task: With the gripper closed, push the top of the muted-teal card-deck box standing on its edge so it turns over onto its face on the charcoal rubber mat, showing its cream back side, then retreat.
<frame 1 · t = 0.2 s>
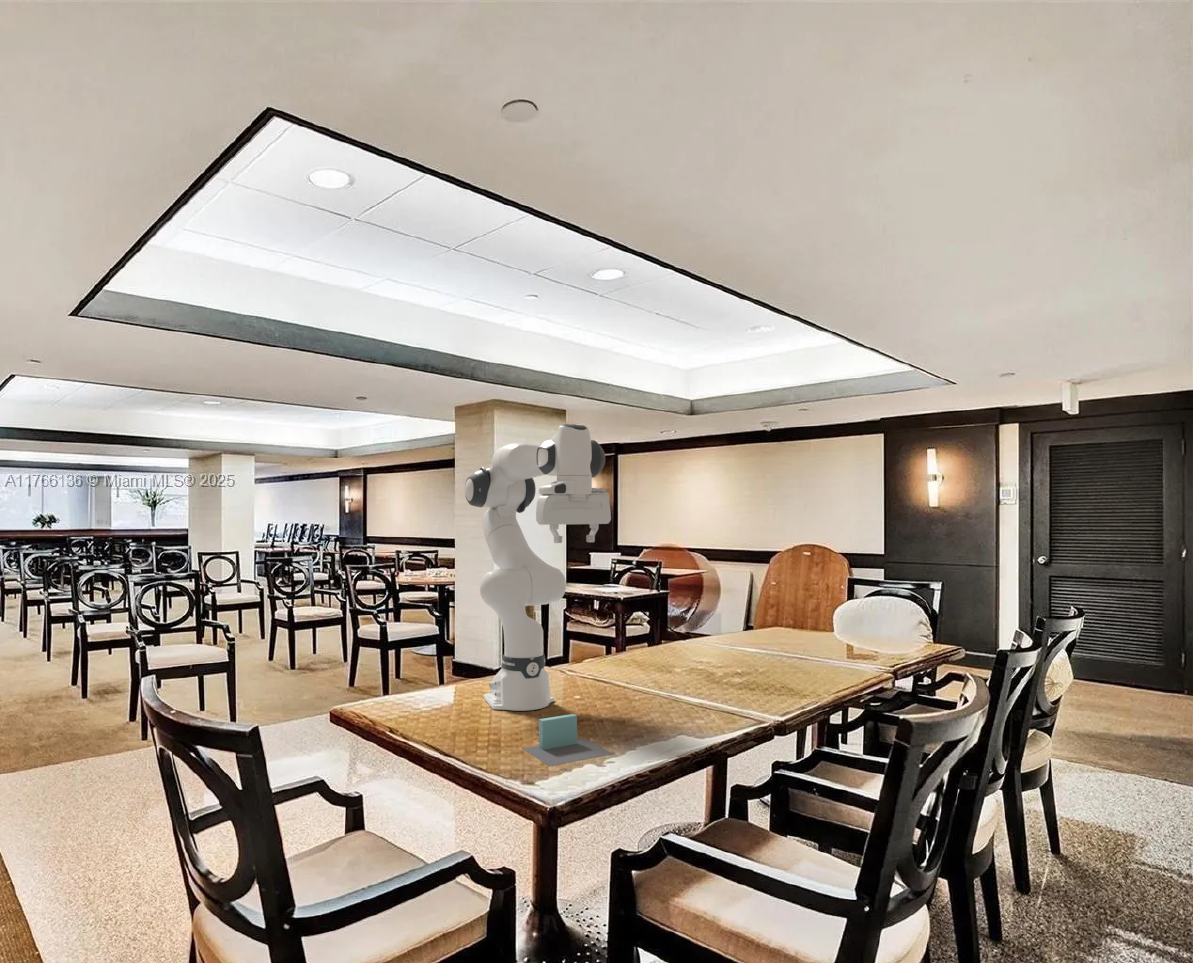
hand: (574, 542, 191), 47 cm above the table, fingers open, 8 cm apart
mat: (567, 753, 172), on the table
deck box: (558, 745, 176), point 1 cm above the table, touching mat
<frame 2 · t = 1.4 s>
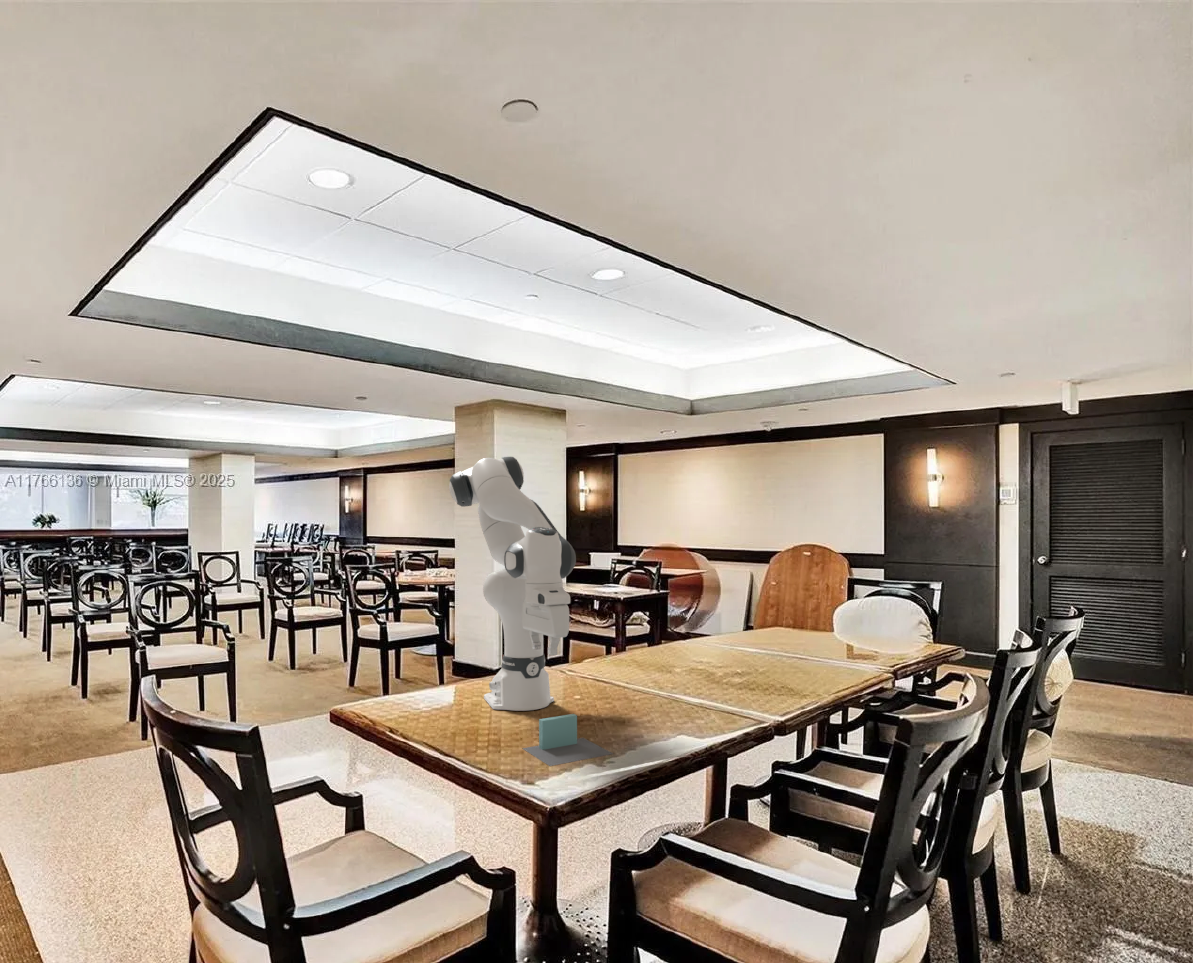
hand: (544, 652, 183), 21 cm above the table, fingers open, 8 cm apart
nothing on the table moved.
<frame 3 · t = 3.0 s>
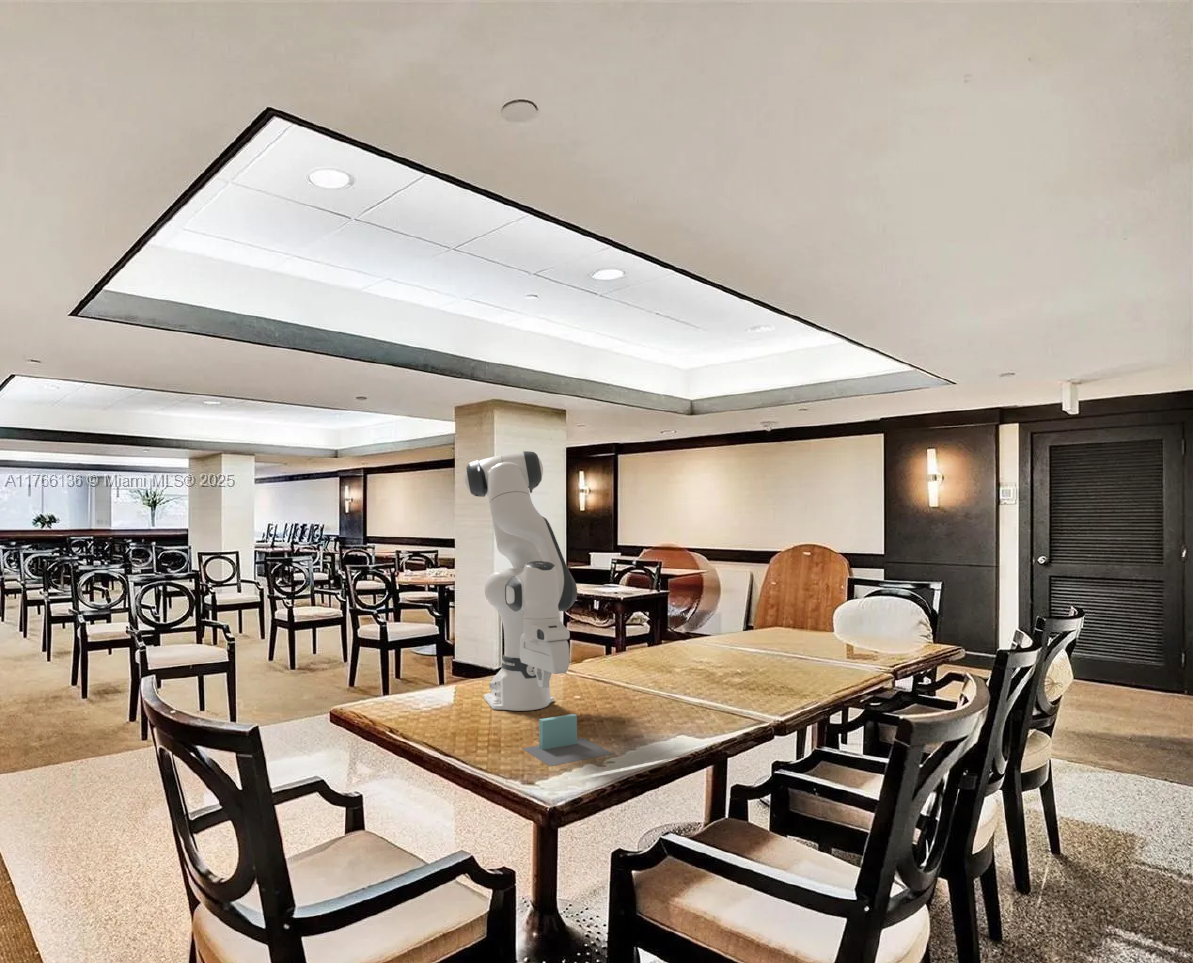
hand: (543, 687, 183), 13 cm above the table, fingers closed
nothing on the table moved.
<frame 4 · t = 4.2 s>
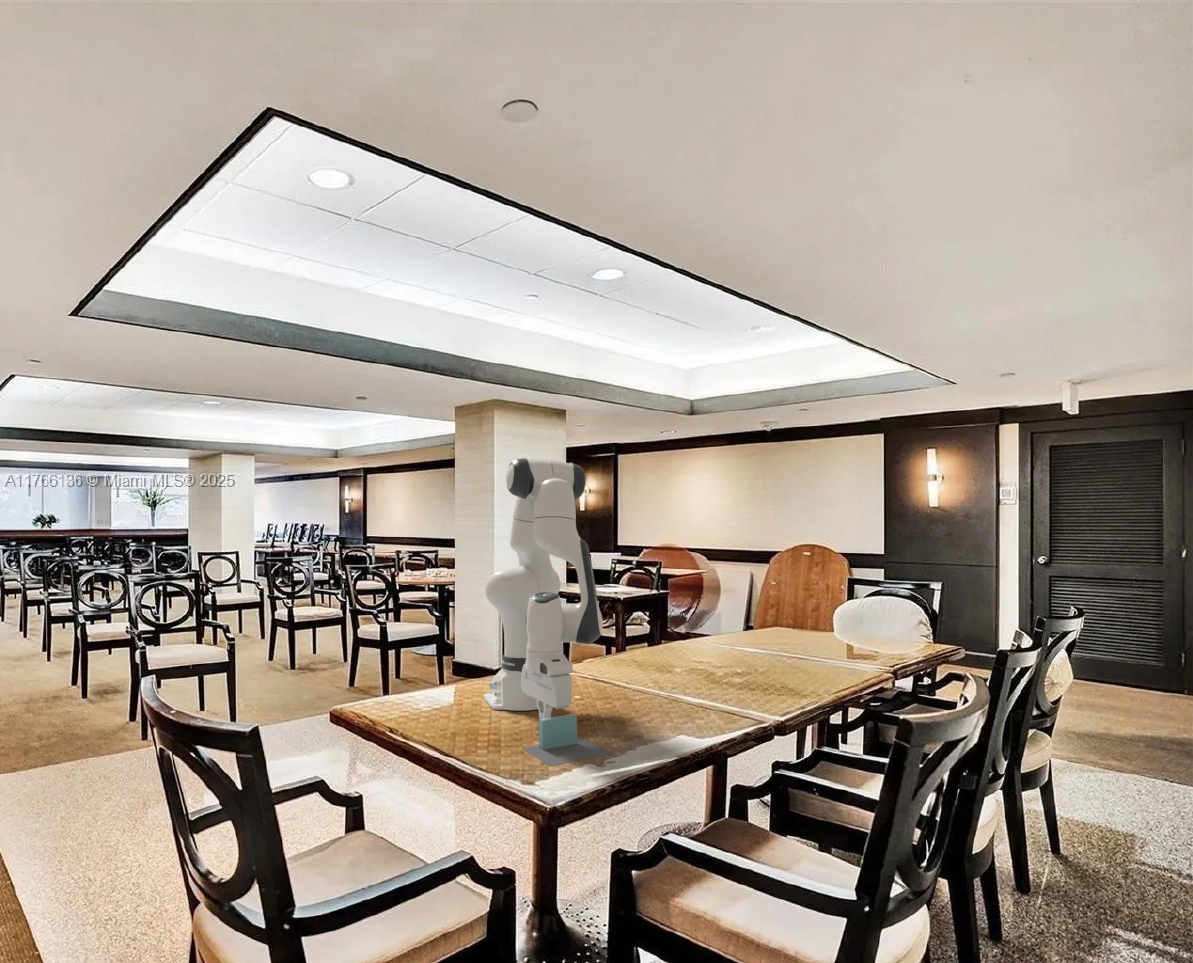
hand: (544, 719, 182), 5 cm above the table, fingers closed
nothing on the table moved.
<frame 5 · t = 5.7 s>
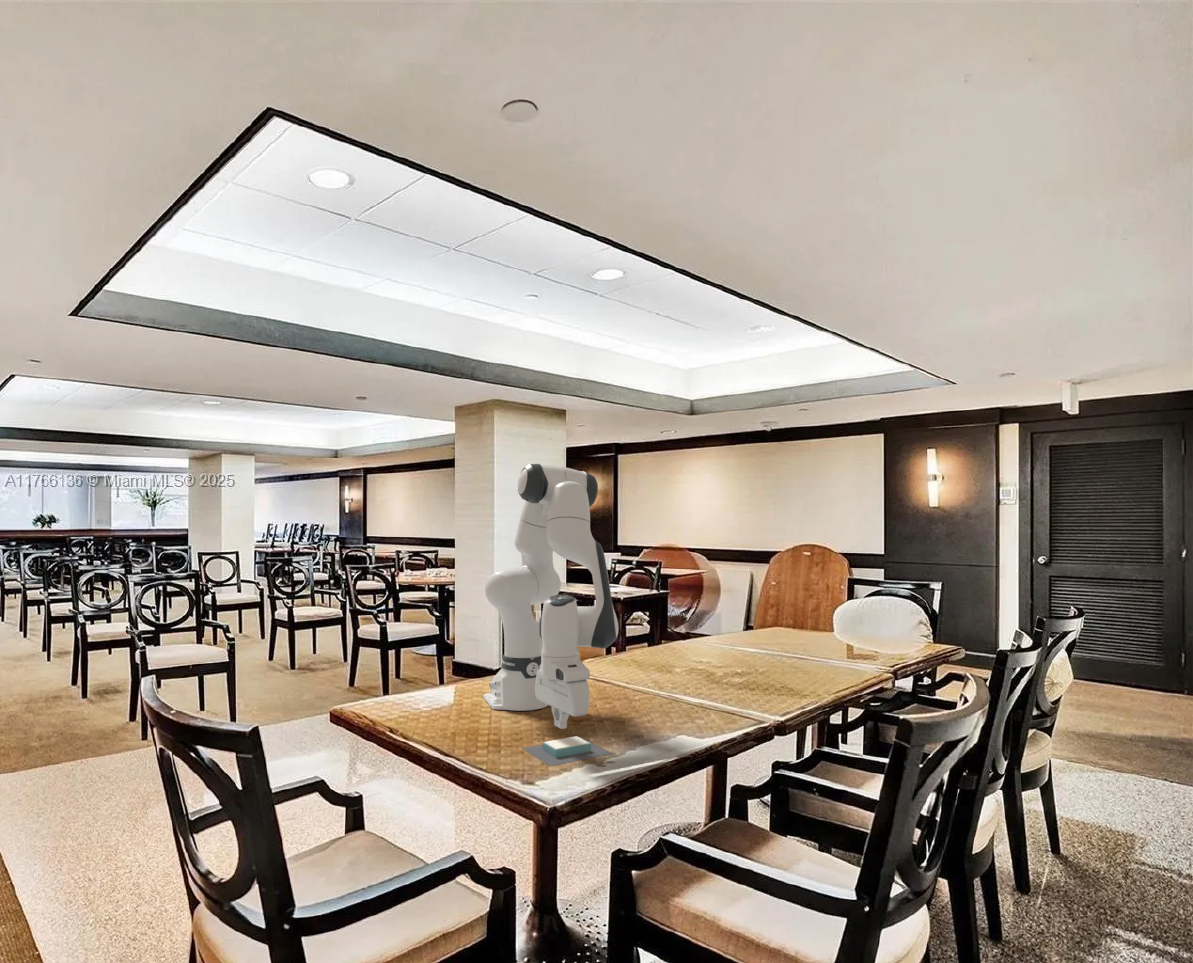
hand: (560, 727, 175), 5 cm above the table, fingers closed
deck box: (560, 743, 175), point 1 cm above the table, tilted 90°, touching mat
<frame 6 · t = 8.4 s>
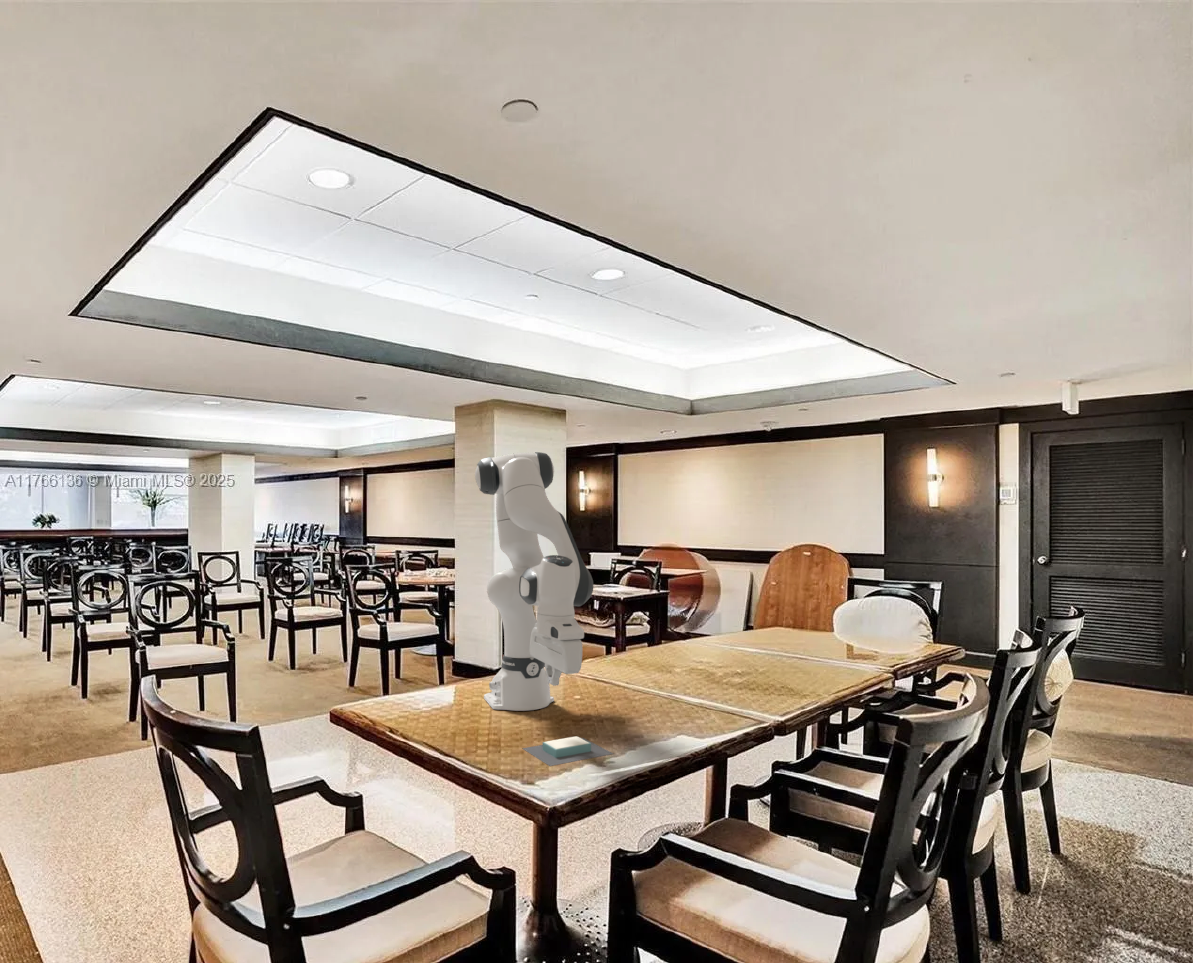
hand: (552, 684, 179), 14 cm above the table, fingers closed
nothing on the table moved.
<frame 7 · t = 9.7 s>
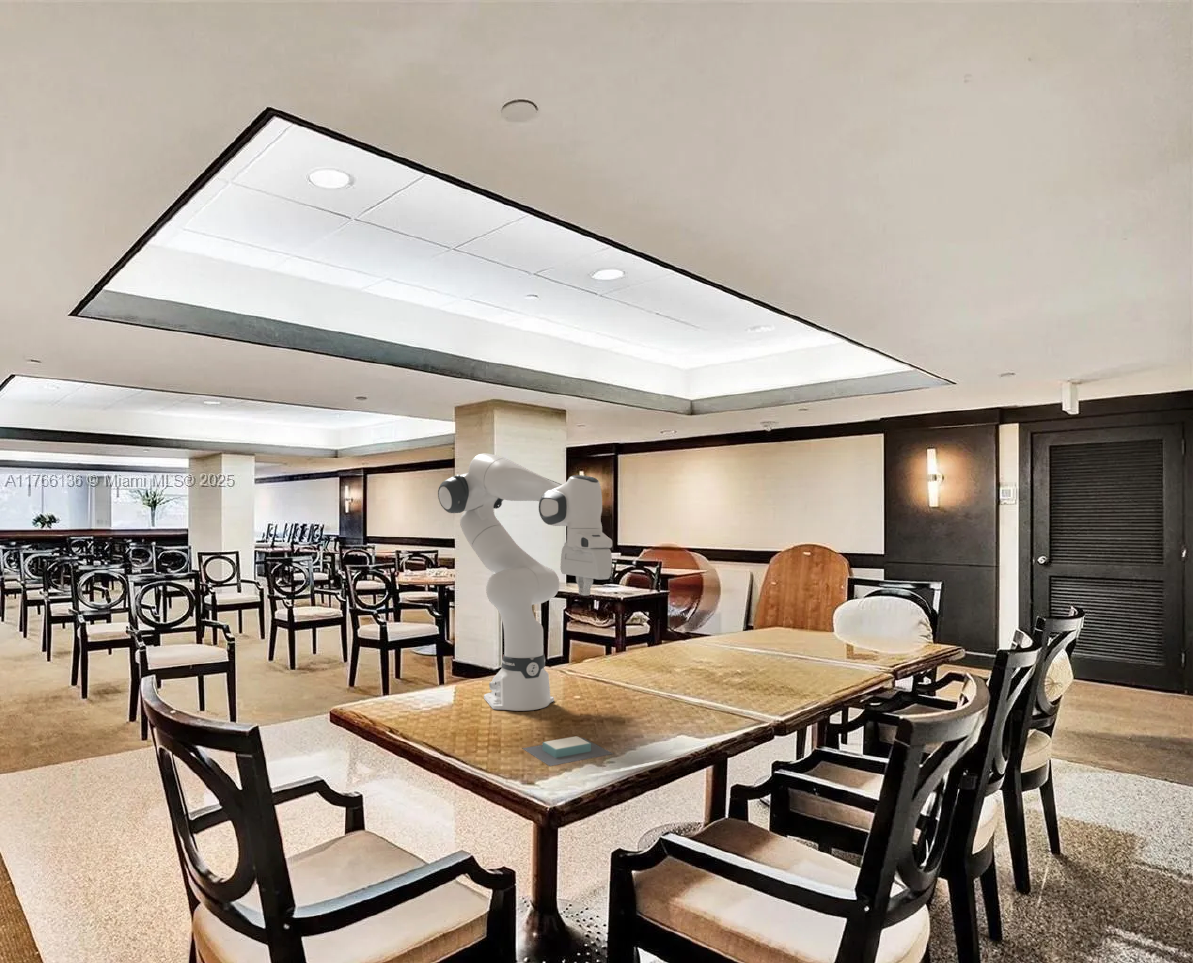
hand: (584, 595, 190), 34 cm above the table, fingers closed
nothing on the table moved.
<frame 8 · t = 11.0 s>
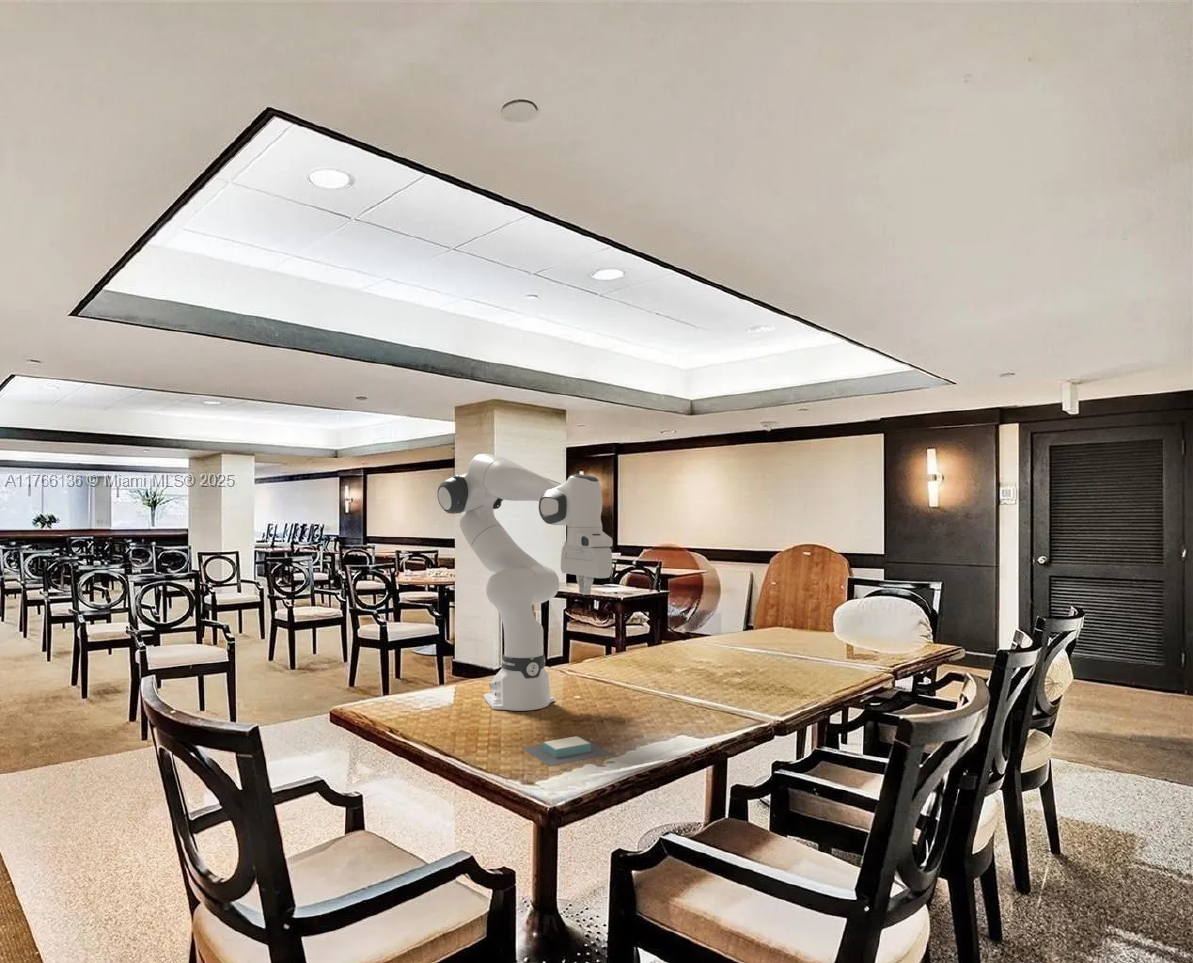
hand: (584, 593, 190), 34 cm above the table, fingers closed
nothing on the table moved.
at the end: deck box tilted 90°; deck box inside the target area on the mat (4.3 cm from its centre), point 1.4 cm above the mat's base; deck box point 1.4 cm above the table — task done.
